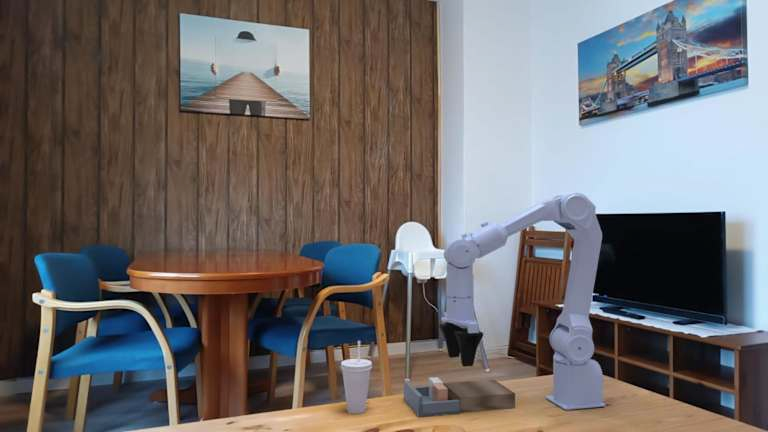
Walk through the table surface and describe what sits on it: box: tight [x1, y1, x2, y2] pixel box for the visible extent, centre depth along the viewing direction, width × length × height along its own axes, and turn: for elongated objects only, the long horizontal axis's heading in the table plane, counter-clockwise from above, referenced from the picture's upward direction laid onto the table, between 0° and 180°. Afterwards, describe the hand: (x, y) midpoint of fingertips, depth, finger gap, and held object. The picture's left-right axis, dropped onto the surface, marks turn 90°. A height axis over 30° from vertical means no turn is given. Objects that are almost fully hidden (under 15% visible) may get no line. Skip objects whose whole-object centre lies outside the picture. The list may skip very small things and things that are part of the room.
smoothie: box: [340, 340, 373, 415], centre depth 106 cm, size 6×6×14 cm
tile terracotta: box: [432, 383, 448, 402], centre depth 107 cm, size 4×4×2 cm
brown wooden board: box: [443, 379, 516, 414], centre depth 111 cm, size 12×10×3 cm
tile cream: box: [428, 376, 444, 399], centre depth 111 cm, size 4×4×2 cm
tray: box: [403, 379, 461, 418], centre depth 109 cm, size 8×11×4 cm
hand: (460, 361), depth 110 cm, fingers open, 7 cm apart
